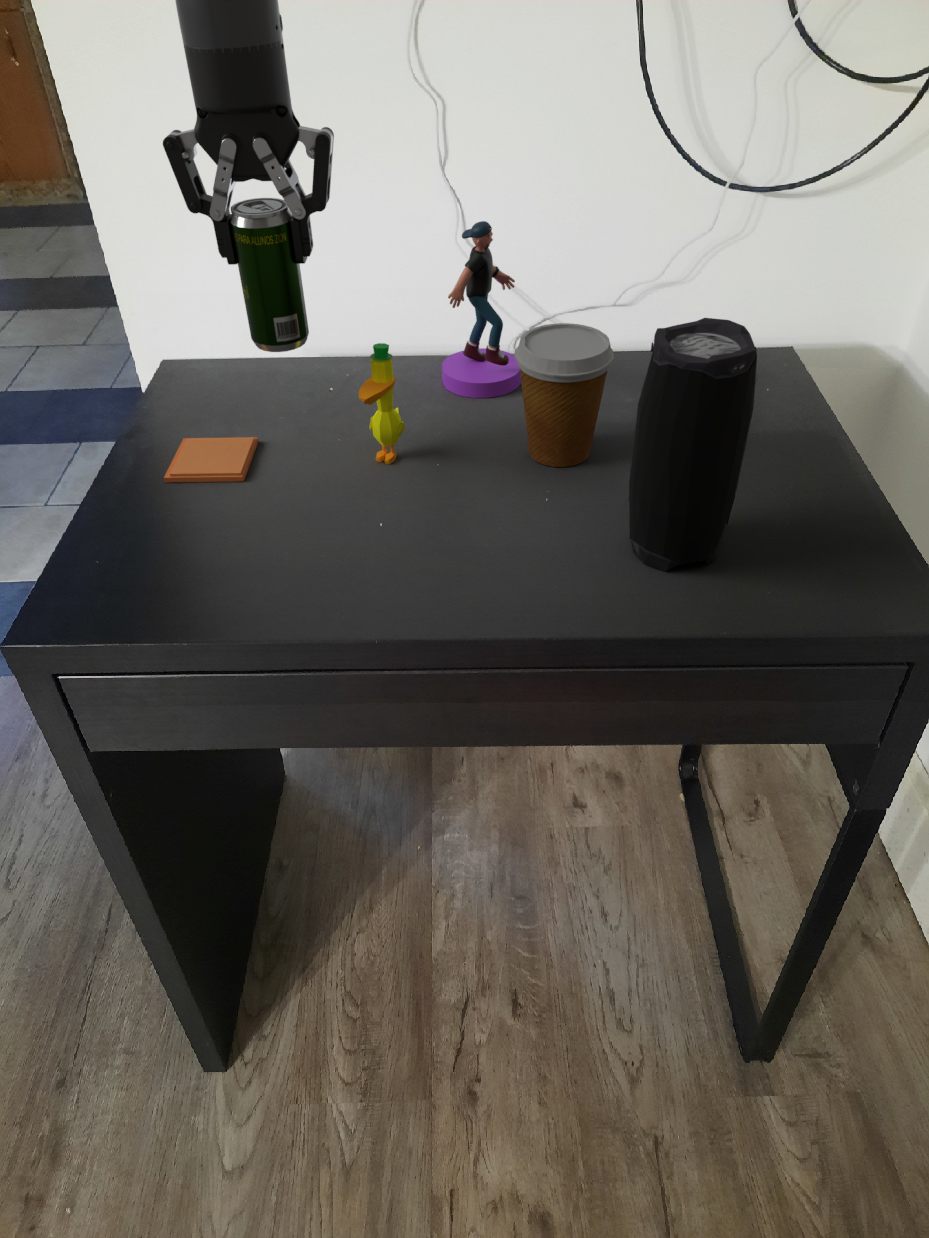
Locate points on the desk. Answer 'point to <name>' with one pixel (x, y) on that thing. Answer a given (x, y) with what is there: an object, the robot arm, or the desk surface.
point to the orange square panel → (212, 460)
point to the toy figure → (382, 402)
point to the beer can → (269, 274)
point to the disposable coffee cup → (562, 389)
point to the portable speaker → (690, 440)
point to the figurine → (481, 328)
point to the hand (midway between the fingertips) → (268, 260)
